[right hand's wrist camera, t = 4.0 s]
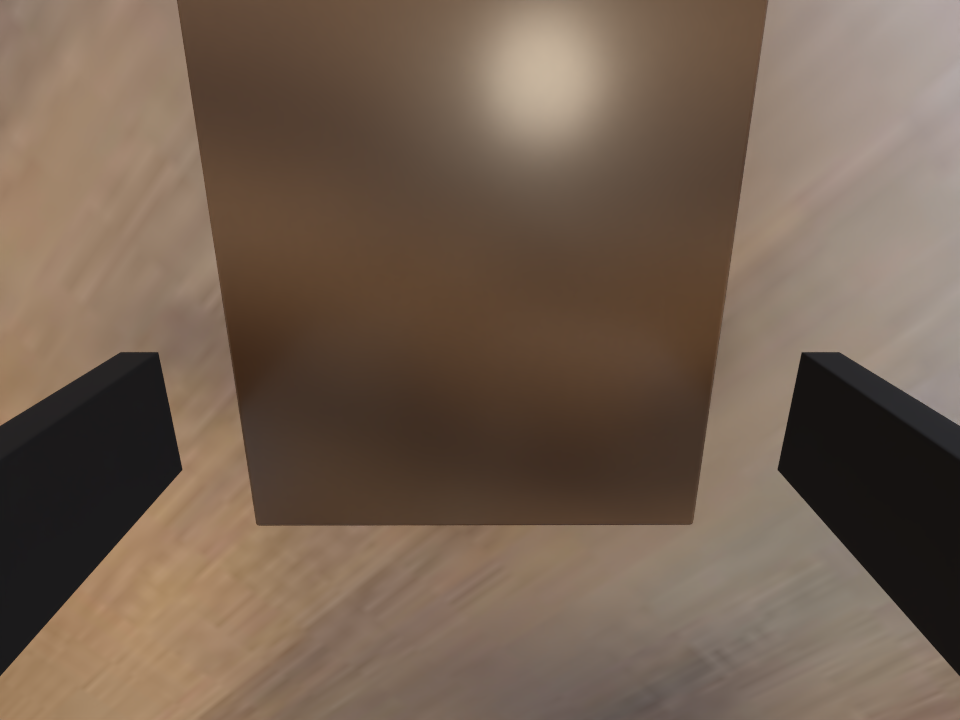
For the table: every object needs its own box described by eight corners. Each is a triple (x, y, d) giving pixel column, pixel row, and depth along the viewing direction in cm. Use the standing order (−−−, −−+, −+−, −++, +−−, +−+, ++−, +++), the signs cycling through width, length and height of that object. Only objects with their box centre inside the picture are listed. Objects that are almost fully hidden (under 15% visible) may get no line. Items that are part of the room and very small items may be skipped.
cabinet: (276, -205, 16) (95, -520, 9) (671, -204, 16) (845, -517, 9) (332, 394, 23) (255, 527, 15) (619, 394, 23) (693, 526, 15)
